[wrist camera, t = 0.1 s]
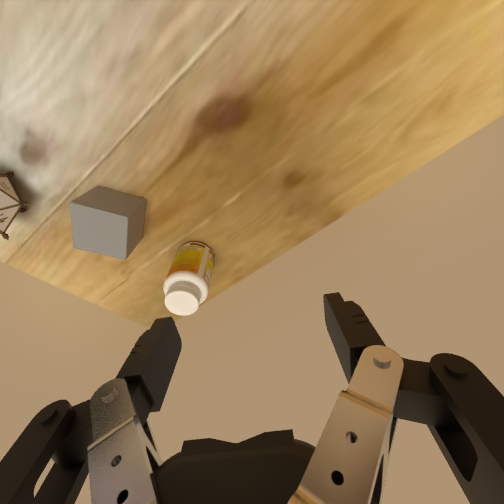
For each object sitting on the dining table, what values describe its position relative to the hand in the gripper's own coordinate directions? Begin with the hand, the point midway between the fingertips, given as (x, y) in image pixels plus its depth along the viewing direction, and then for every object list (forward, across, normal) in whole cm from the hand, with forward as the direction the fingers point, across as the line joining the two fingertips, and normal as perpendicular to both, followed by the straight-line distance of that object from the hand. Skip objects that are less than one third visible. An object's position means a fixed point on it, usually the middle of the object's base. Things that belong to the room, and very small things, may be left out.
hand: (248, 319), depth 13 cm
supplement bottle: (+24, +10, +6) cm, 26 cm away
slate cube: (+22, +18, -3) cm, 28 cm away
